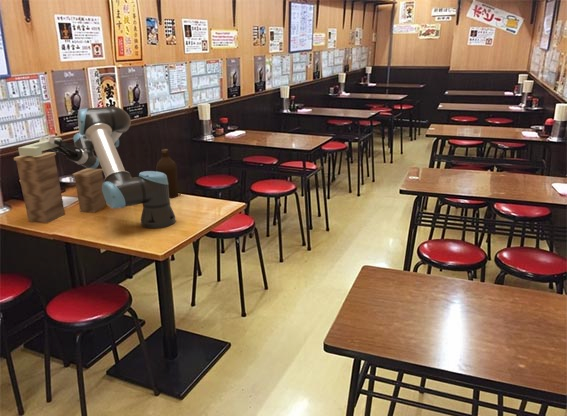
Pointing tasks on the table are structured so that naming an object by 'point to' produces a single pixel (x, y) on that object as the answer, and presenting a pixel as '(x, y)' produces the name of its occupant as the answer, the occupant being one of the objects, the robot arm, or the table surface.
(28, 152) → the crook
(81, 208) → the short wooden block stack
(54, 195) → the tall wooden block
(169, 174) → the olive oil
